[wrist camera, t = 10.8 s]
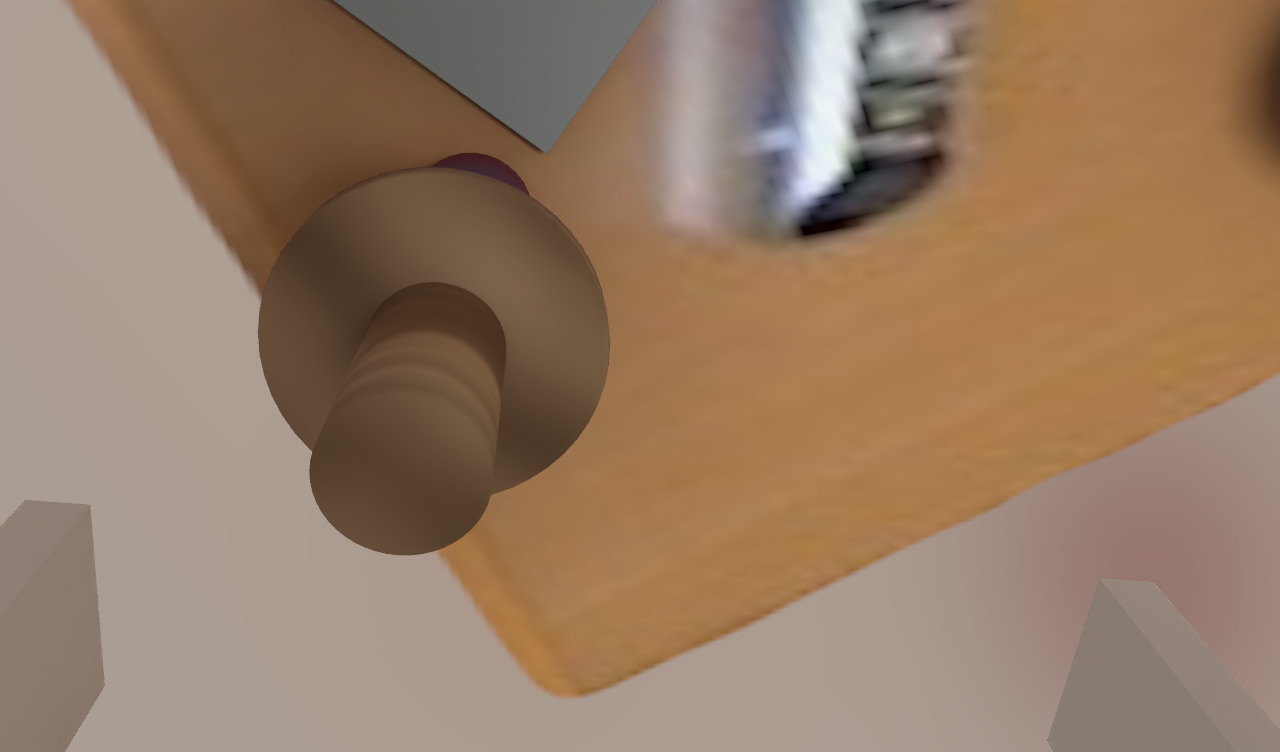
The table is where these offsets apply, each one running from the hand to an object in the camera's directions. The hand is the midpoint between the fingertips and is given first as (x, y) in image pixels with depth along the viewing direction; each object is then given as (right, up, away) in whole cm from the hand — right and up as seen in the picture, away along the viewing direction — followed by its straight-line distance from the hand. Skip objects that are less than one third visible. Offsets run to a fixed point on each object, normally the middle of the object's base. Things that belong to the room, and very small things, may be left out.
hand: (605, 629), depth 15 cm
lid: (-6, +5, +18) cm, 20 cm away
